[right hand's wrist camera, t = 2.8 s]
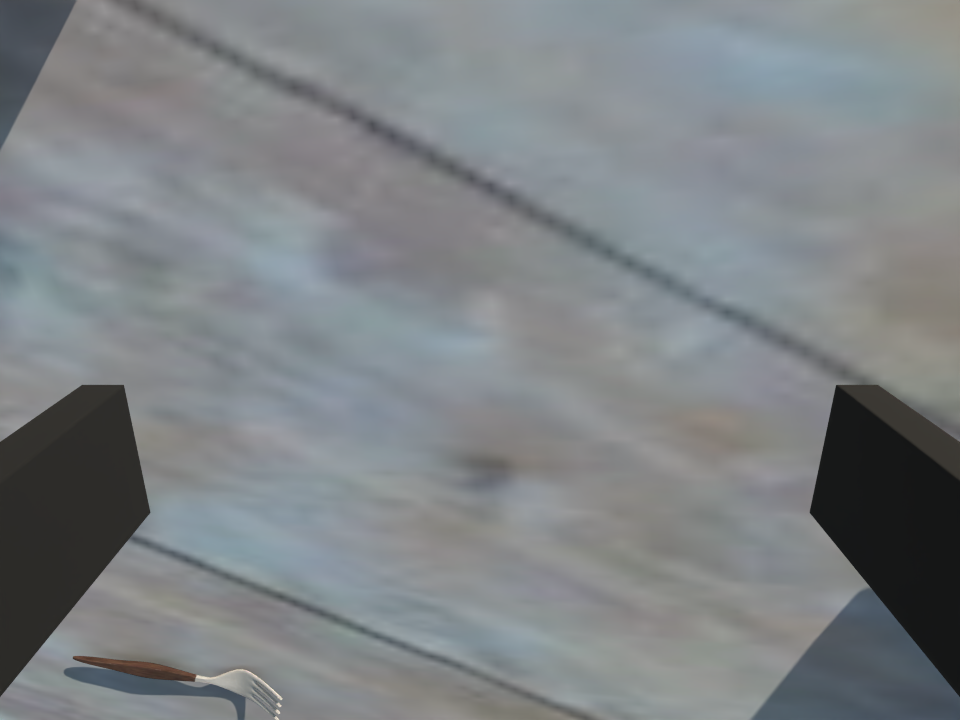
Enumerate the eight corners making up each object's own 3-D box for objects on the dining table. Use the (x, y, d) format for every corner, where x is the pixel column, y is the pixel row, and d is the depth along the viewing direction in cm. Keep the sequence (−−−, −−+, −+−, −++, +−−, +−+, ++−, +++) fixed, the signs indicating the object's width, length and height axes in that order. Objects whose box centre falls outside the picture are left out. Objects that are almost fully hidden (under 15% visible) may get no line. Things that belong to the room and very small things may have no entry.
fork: (77, 638, 50) (61, 659, 48) (289, 676, 51) (282, 697, 49) (76, 665, 50) (61, 686, 49) (285, 701, 52) (278, 723, 50)
